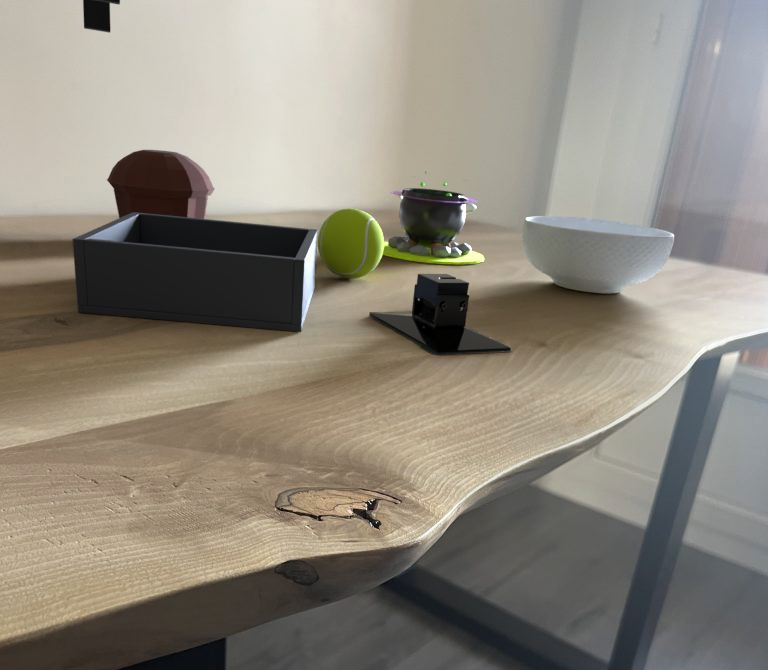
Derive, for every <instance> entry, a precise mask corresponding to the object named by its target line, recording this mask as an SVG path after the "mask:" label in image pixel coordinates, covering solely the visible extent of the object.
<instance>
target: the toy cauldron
mask: <svg viewBox="0 0 768 670" xmlns="http://www.w3.org/2000/svg"><path fill="white" fill-rule="evenodd" d="M444 164H445V165H447V164H446V163H444ZM449 166H453V167H454V166H455V164H449ZM427 173H428V172H427V171H424V175H430V174H427ZM412 176H413V175H412ZM438 176H439V177H440V175H438V174H437V177H438ZM413 177H415V176H413ZM452 178H454V179H455V177H453V176H452ZM426 179H428V178H426ZM428 180H429V179H428ZM445 181H448V180H447V179H445ZM445 181H444V182H443V183H442V186H443V187H446V186H447V182H445ZM462 181H465V182H468V179H464V178H462ZM419 185H420V186H421V187H422V188H421V187H420V188H419V187H418V188H417V187H408V188H405V189H402V190H395V191H390V192H389V193H390V194H391V195H394V196H398V198H399V199H401V200H400V202H399V213H398V214H399V215H398V218H399V222H400V226H401V230H402V231H403V233H404V234H405V236H393V237H391V238H389V239H388V240H387V241H384V250H383V254H382V256H386V257H391V258H394V259H399V260H404V261H411V262H418V263H425V264H438V265H477V264H481V263H483V262H485V256H484V255H483V254H481V253H480V252H476V251H474V250H472V246H471V245H470V244H467V243H466V242H463V243H460V244H459V243H457V242H455V241H453V240H455V238H456V237H458V235H460V233H461V231H462V229H463V227H464V224H465V222H466V215H467V214H471V213H474V212H475V211H476V210H477V206H476V205H475V204H474V203H479V200H477V199H473V198H470V197H465V194H463V193H459V192H457V191H449V190H442V189H433V188H423V187H424V186H425V183H424V182H423V181H421V182H420V184H419ZM466 205H469V206H471V207H472V209H470V210H467V207H466Z"/></svg>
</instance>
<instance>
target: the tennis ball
mask: <svg viewBox="0 0 768 670" xmlns="http://www.w3.org/2000/svg"><path fill="white" fill-rule="evenodd" d="M384 239H385V238H384V233H383V230H382V228H381V226H380V224H379V222H378V221H377V220H376V219H375V218H374V217H373V216H372V215H371V214H370V213H367V212H366V211H364V210H361V209H356V208H343V209H340V210H337V211H335V212H333V213H331V214H330V215H328V217H327V218H326V219H325V220H324V221H323V223H322V225H321V227H320V229H319V230H318V235H317V252H318V255H319V258H320V260H321V261H322V263H323V265H324V266H325V267H326V269H328V270H329V271H330V272H331V273H333V274H334V275H336V276H338V277H340V278H343V279H358V278H362V277H364V276H367V275H368V274H370V273H371V272H373V271H374V270H375V268H377V266H378V265H379V263H380V261H381V259H382V258H383V255H382V254H383V250H384V242H385V240H384Z"/></svg>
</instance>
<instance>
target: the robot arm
mask: <svg viewBox="0 0 768 670" xmlns="http://www.w3.org/2000/svg"><path fill="white" fill-rule="evenodd" d="M111 4H114V5H120V4H121V0H82V9H83V11H82V13H83V29H86V30H91V31H98V32H103V33H108V34H109V33H111Z"/></svg>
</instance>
